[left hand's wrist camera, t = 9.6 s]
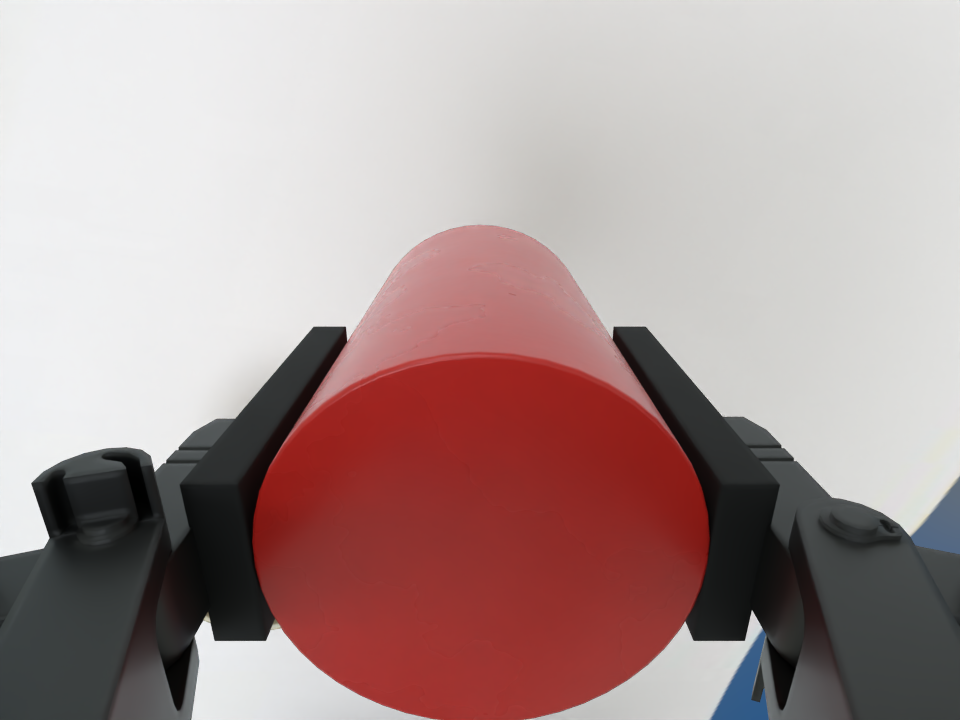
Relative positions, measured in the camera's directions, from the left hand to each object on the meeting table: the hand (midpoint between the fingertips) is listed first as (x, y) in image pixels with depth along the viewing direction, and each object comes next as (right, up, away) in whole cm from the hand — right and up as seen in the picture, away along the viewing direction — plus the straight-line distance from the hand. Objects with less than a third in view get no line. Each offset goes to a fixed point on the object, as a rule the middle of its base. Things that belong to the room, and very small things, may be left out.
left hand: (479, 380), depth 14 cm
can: (0, +1, +3) cm, 4 cm away
